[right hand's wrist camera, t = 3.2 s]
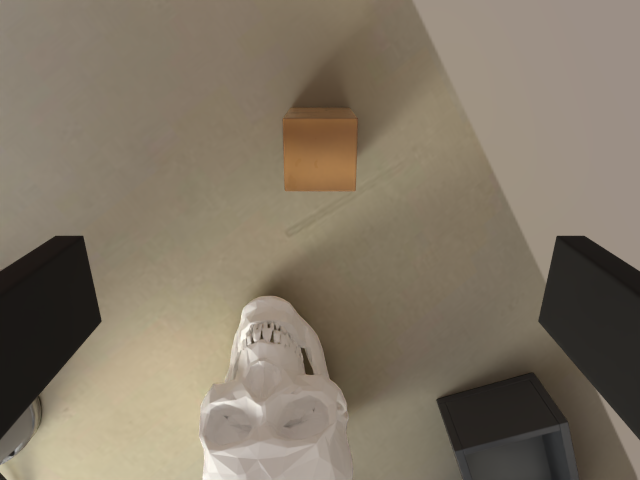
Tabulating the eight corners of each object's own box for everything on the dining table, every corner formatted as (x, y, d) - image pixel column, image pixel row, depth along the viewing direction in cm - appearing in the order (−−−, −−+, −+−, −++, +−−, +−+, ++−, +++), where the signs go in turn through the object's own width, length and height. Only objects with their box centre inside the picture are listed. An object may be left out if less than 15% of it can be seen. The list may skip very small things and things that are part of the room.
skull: (326, 276, 42) (322, 391, 27) (359, 446, 50) (369, 606, 35) (193, 295, 43) (120, 415, 28) (246, 458, 51) (210, 617, 36)
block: (348, 167, 38) (355, 191, 31) (291, 167, 38) (284, 191, 31) (350, 107, 36) (358, 118, 29) (290, 107, 36) (282, 118, 29)
